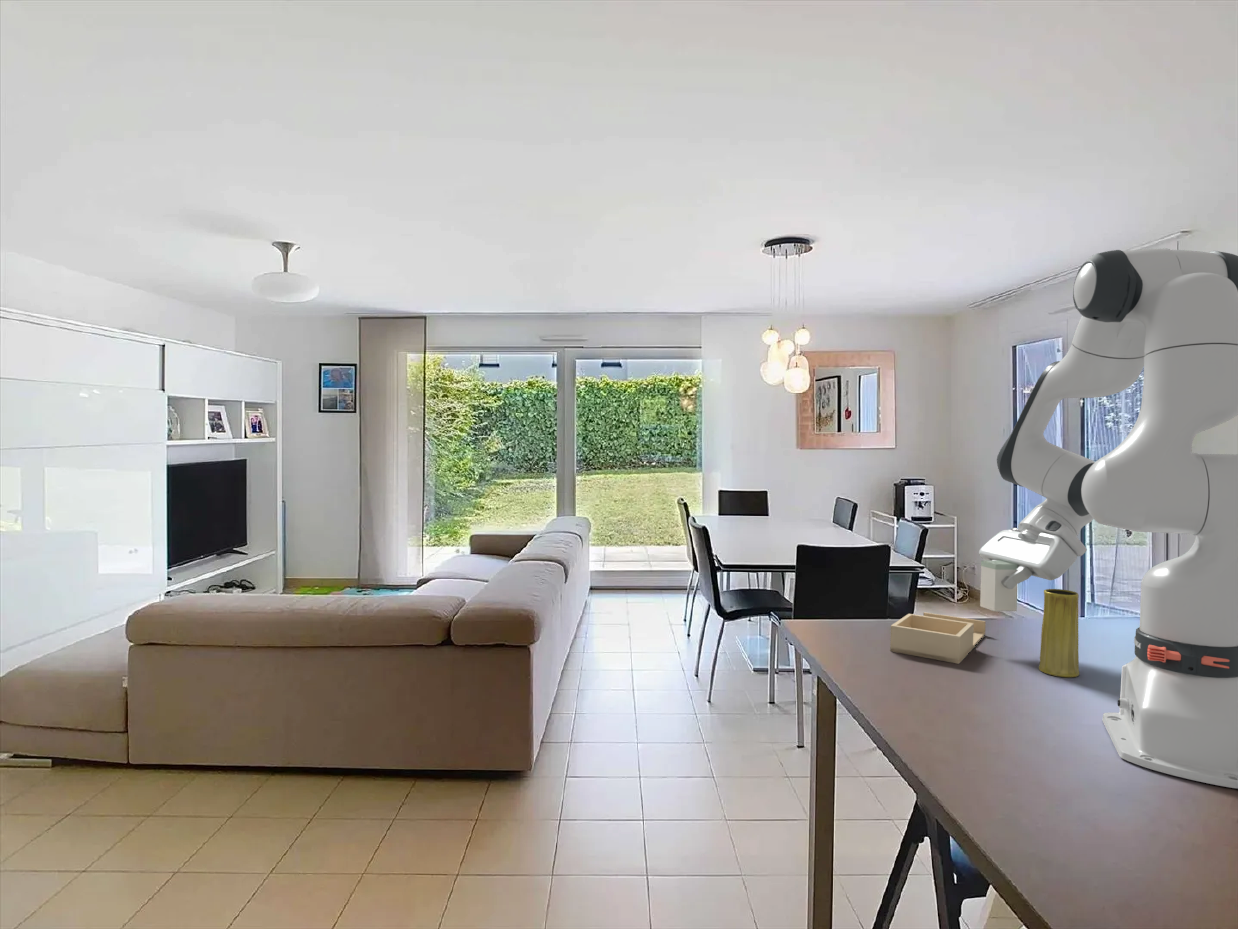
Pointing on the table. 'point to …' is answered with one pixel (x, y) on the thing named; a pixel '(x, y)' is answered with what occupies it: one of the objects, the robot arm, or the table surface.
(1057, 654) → the vase
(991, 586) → the carton
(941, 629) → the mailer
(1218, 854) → the table surface
